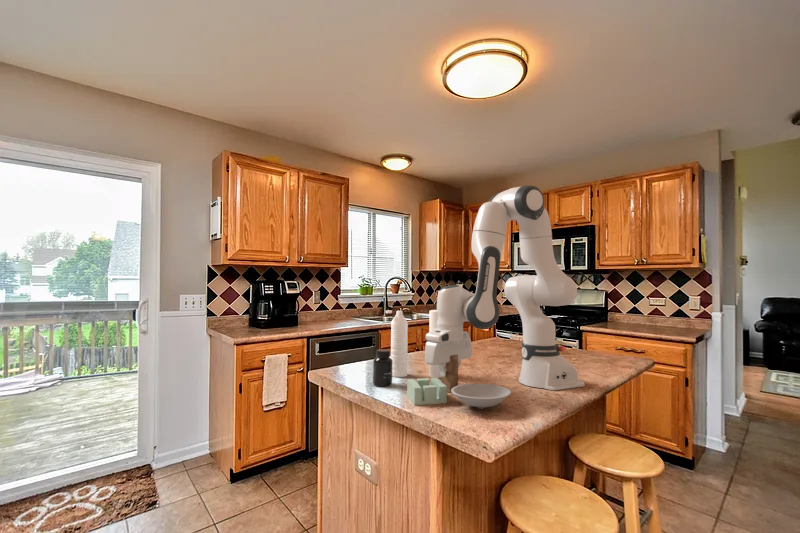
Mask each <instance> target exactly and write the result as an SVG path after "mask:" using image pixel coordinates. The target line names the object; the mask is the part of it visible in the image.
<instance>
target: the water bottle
mask: <svg viewBox="0 0 800 533" xmlns="http://www.w3.org/2000/svg"><path fill="white" fill-rule="evenodd" d="M392 313H393V310H389V309H388V310H385V314H392ZM408 327H409V324H408V321H407V319H406V317H405V316H404V312H403V310H396V313H395V316H394V317H393V318H392V320H391V323H390V328H391V329H390V358H391V359H392V378H393V377H394V378H405V377H407V376H408V356H409V355H408V350H409V349H408V348H409V347H408V346H409V345H408V341H409V340H408V335H409V334H408V333H409V332H408V331H409V330H408V329H409V328H408Z"/></svg>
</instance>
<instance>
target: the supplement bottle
mask: <svg viewBox="0 0 800 533" xmlns="http://www.w3.org/2000/svg"><path fill="white" fill-rule="evenodd" d="M375 352H376V354H375V356H376V357H375V358H374V359H373V360H372V361H373V362H372V363H373V364H372V365H373V366H372V384H373V386H375V387H380V388H386V386H387V387H390V386H392V384H393V376H392V359H391V349H387V348H385V349H384V348H383V349H377V350H376V351H375Z"/></svg>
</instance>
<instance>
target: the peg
mask: <svg viewBox="0 0 800 533" xmlns="http://www.w3.org/2000/svg"><path fill="white" fill-rule="evenodd" d="M445 369H446V371H448V373H447V374H448V375H447V376H445V377H443V376H441V378H440V381H441V382H442V383H443V384H445V385H446V386H447V393H452V392H451V389H452V388H453V387H456V386H459V368H458V354H456V355H451V356H450V362H448V363H446V366H445Z"/></svg>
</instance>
